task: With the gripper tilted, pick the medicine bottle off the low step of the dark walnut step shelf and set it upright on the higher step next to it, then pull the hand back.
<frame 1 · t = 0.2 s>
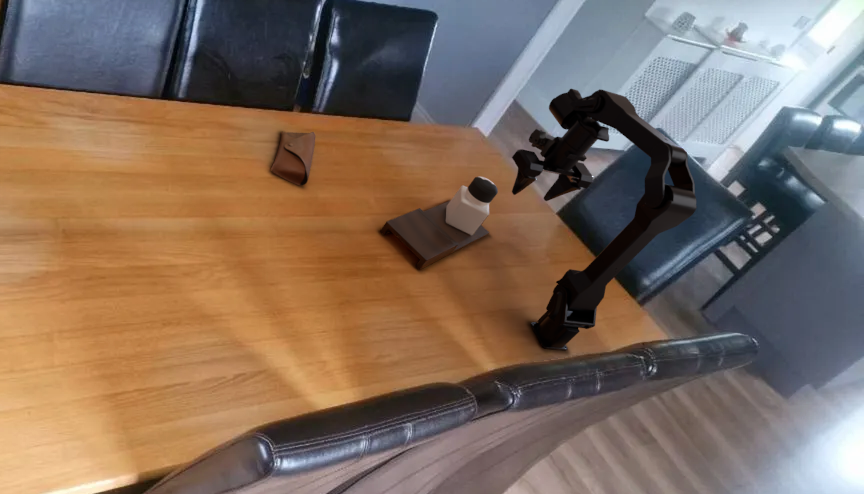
hand: (529, 196, 156), 14 cm above the table, tool pointing down, fingers open, 9 cm apart
medicine bottle: (458, 221, 165), point 1 cm above the table, touching step shelf
sunglasses case: (291, 159, 159), on the table
step shelf: (436, 233, 159), on the table
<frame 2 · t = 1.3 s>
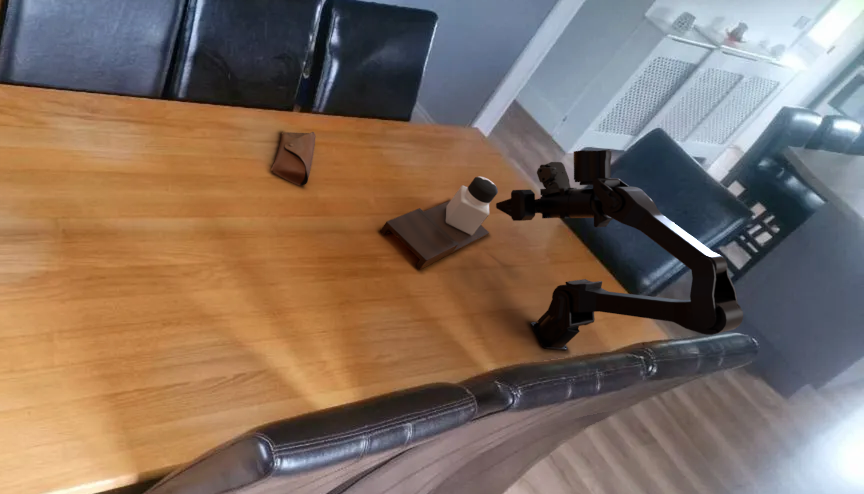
hand: (510, 205, 153), 13 cm above the table, tool tilted 45°, fingers open, 9 cm apart
nothing on the table moved.
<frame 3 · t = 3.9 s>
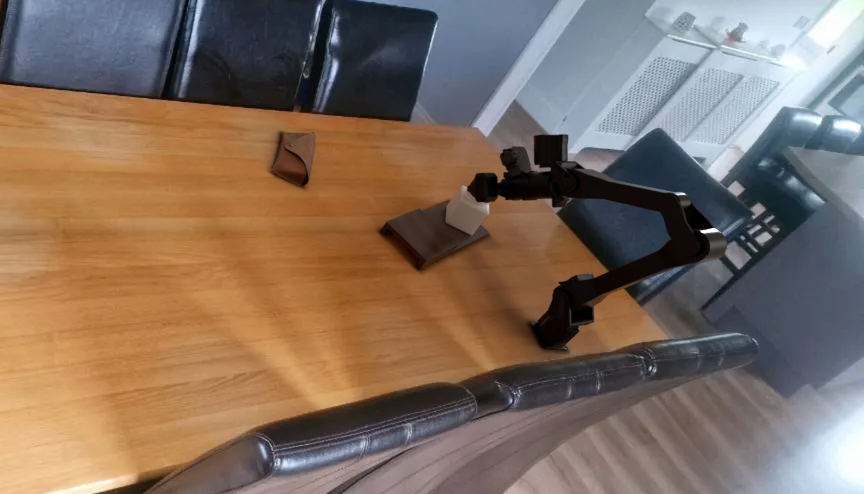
hand: (476, 188, 160), 10 cm above the table, tool tilted 45°, fingers closed on medicine bottle, 6 cm apart
medicine bottle: (458, 221, 165), point 1 cm above the table, touching gripper, step shelf
everything else where it was.
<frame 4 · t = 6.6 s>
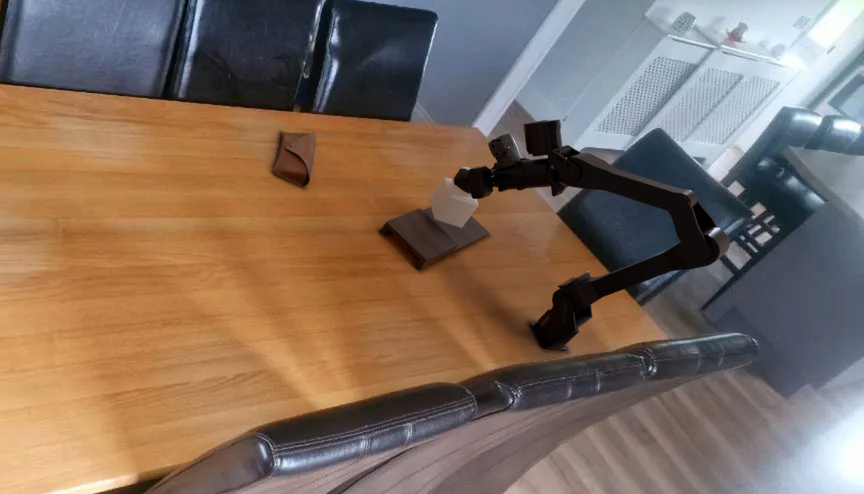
hand: (462, 179, 153), 13 cm above the table, tool tilted 45°, fingers closed on medicine bottle, 6 cm apart
medicine bottle: (444, 214, 158), point 4 cm above the table, touching gripper
everything else where it was.
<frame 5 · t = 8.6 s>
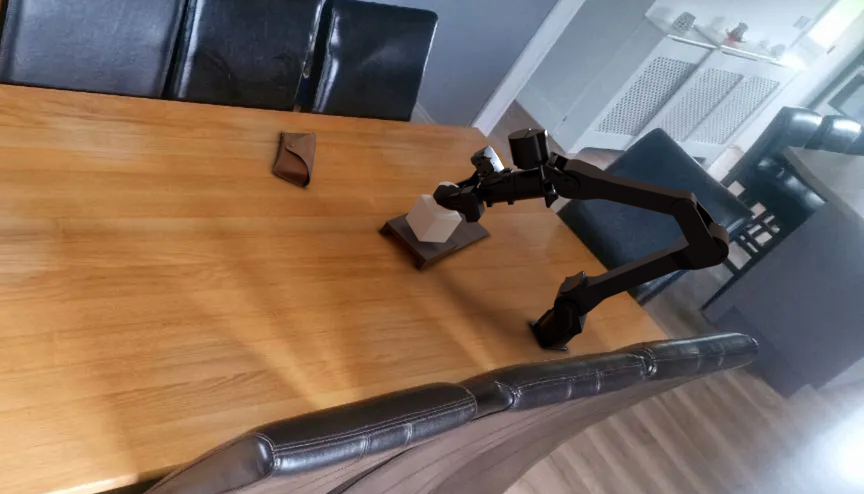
hand: (441, 195, 145), 13 cm above the table, tool tilted 45°, fingers closed on medicine bottle, 6 cm apart
medicine bottle: (424, 231, 150), point 4 cm above the table, touching gripper
everything else where it was.
when the fingers open (12 cm above the table, at t = 9.6 s): medicine bottle stays where it is, resting on step shelf.
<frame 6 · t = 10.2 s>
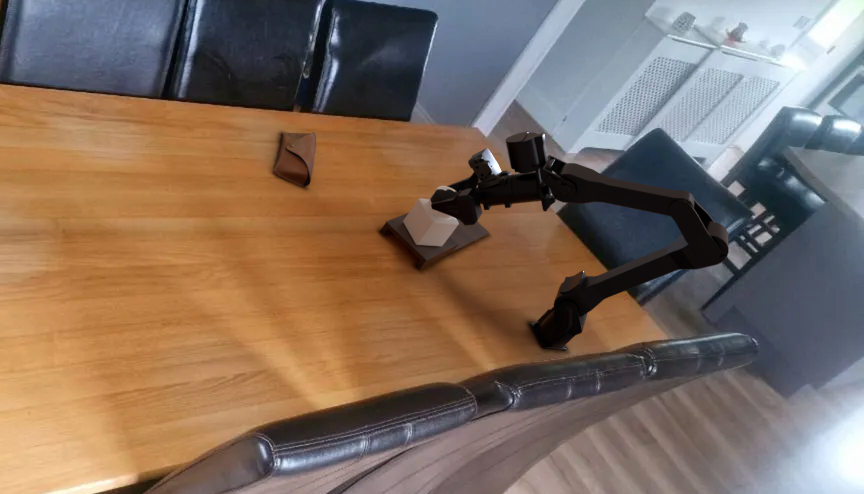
hand: (438, 197, 145), 13 cm above the table, tool tilted 45°, fingers open, 9 cm apart
medicine bottle: (421, 234, 151), point 3 cm above the table, touching step shelf
everything else where it was.
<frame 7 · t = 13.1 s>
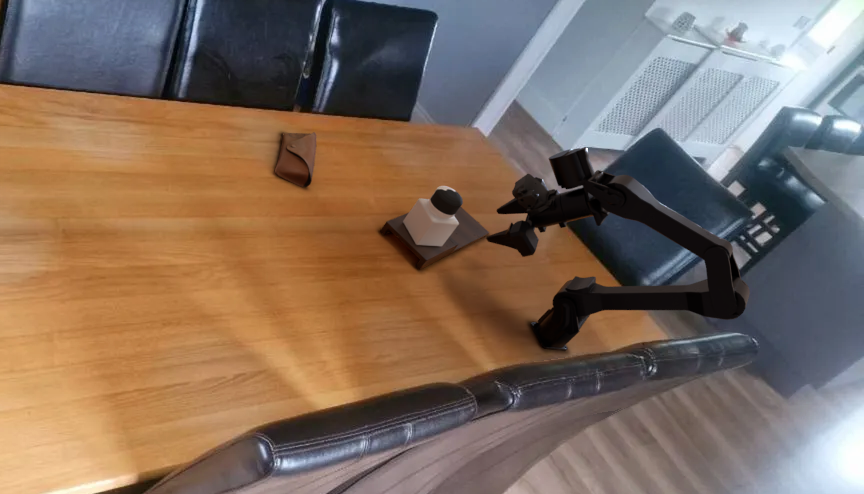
hand: (492, 225, 146), 12 cm above the table, tool tilted 35°, fingers open, 9 cm apart
nothing on the table moved.
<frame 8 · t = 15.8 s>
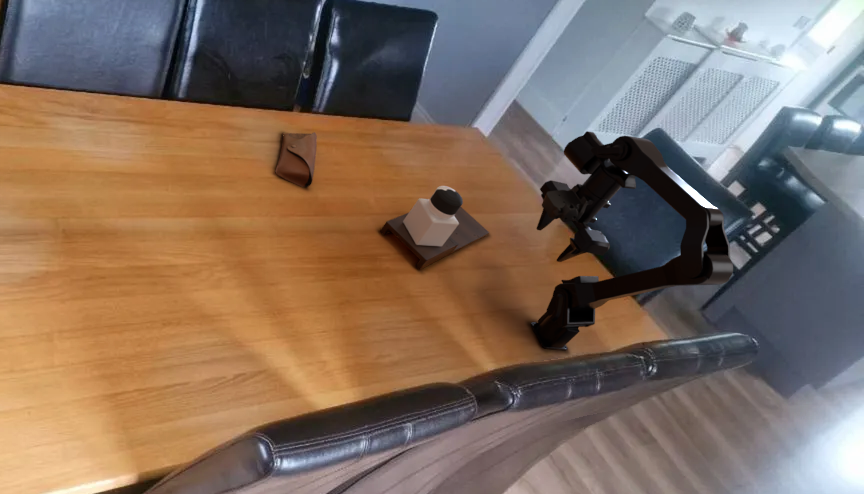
hand: (548, 245, 147), 13 cm above the table, tool pointing down, fingers open, 9 cm apart
nothing on the table moved.
at the end: medicine bottle 0.2 cm from the target spot, point 2.8 cm above the table; medicine bottle tilted 0°; the gripper is holding nothing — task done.
